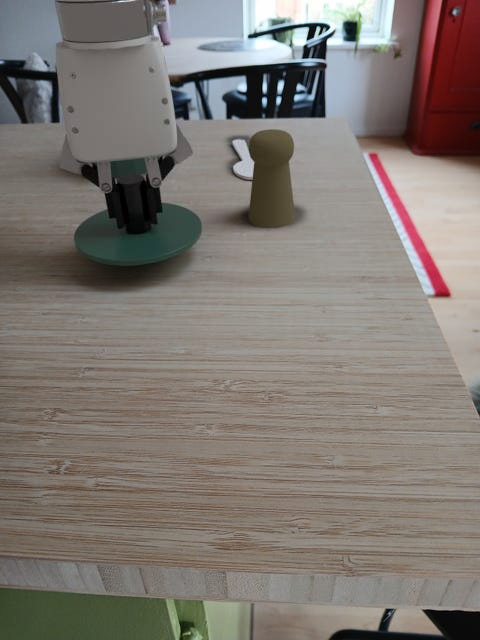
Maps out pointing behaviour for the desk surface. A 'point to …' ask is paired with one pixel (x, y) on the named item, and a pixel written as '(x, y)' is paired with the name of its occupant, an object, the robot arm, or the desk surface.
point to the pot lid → (137, 230)
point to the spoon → (243, 160)
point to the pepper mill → (271, 179)
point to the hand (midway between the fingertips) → (137, 219)
